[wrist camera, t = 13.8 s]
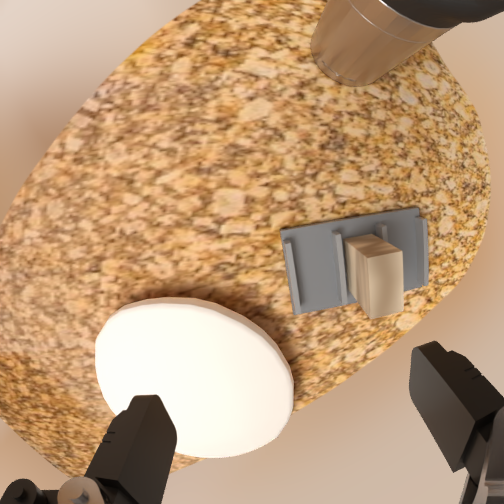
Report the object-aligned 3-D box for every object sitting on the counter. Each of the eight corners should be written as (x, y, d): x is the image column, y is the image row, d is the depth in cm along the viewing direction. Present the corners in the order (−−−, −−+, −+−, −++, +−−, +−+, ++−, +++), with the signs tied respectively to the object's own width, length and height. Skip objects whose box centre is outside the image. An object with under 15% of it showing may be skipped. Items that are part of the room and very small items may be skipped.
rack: (415, 206, 33) (427, 210, 30) (418, 284, 35) (429, 292, 32) (279, 229, 34) (281, 234, 31) (292, 311, 36) (295, 322, 33)
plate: (311, 450, 37) (147, 466, 39) (305, 419, 43) (155, 437, 45) (266, 290, 28) (48, 335, 30) (263, 262, 34) (70, 309, 36)
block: (371, 233, 33) (402, 250, 25) (375, 283, 34) (403, 311, 26) (342, 238, 33) (367, 258, 25) (347, 289, 34) (370, 319, 27)
